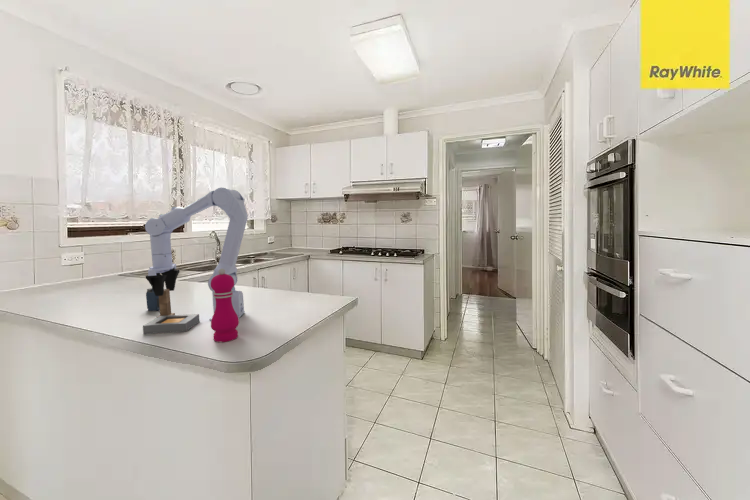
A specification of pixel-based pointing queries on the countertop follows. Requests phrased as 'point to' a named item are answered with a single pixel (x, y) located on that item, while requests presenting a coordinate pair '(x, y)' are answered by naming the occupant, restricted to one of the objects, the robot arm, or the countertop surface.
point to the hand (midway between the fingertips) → (165, 293)
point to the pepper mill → (224, 308)
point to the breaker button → (173, 320)
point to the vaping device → (152, 300)
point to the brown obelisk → (165, 304)
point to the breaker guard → (171, 324)
